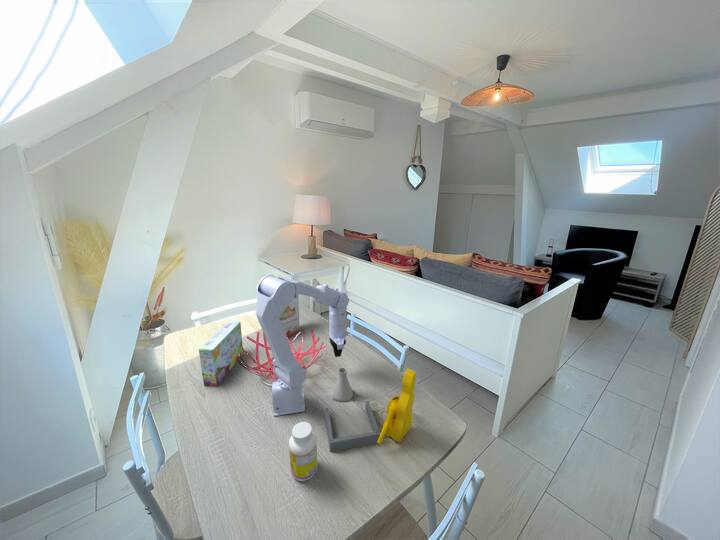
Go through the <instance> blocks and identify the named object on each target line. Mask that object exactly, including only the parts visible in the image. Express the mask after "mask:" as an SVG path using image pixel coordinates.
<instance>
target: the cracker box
mask: <svg viewBox="0 0 720 540" xmlns="http://www.w3.org/2000/svg"><path fill="white" fill-rule="evenodd" d="M299 298H300V297H299V295H298V296H297V298H293V300H292V301H291V302H290V304H289V305H288V306H287V307H286V308H285V310H284V311H283V312H282V313H281V314H280V315H278V316H279V319H280V322H281V324H282V327H283V329H284V332H285V333H286V335H287V338H288V337H290V336H292V335H294V334H296V333H298V332H300V306H299V301H300V299H299Z"/></svg>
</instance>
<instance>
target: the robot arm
mask: <svg viewBox="0 0 720 540" xmlns="http://www.w3.org/2000/svg"><path fill="white" fill-rule="evenodd" d="M255 291H256V295H257V300H256V309H255V311H256V312H255V314H256V318H257V320H258V322H259V325H260V327H261V330H262V331H263V334H264V338H265V340H266V342H267V344H268V346H269V349H270V350H271V354H272V356H273V358H274V359H273V360H272V365H273V369H272V371H273V374H274V375H275V376H277V380H276V381H274V382H272V386H271V387H272V388H271V393H272V395H271V397H272V399H271V400H272V406H273V407H272V408H273V410H272V411H273V416H274V417H277V416H283V415H289V414H295V413H302V412H305V411H306V409H305V394H304V392H303V384H304V382H305V380H306V378H307V371H306V369H305V368H303V367H302V365H301V363H300V362H299V361H298V359H297V358H296V357H295V356H294V354H293V350H292V349H291V346H290V342H289V340H288V337H286V335H285V332H284V329H283V327H282V324H281V322H280V319H279V316H278V315H280V314H281V313H282V312H283V311H284V310H285V308H286V307H287V306H288V305H289V304H290V302H291V301H292V300H293V298H297V296H298V297H299V295H303V296H307V297H312V300H313V301H314V302H315V303H318V304H322V305H326V306H328V310H329V313H328V315H329V317H328V318H329V319H328V321H329V322H328V323H329V329H328V330H329V333H328V336H329V337H328V338H329V343H330V345H331V346H332V351H333V355H334V357H335V358H340V357H341V356H342V353H343V350H344V349H345V348H344V347H345V345H346V344H347V340H346V337H348V336H349V335H350V334H349V331H346V313H347V311H348V305H349V303H350V298H349V295H347V293H346V292H343V291H340V290H338V289H337V288H335V287H333V288H331V287H329V285H327V284H324V283H323V284H319V285H317V286H312V285H310V284H307V283H304V282H301V281H298V280H296V279H292V278H287V277H284V276H277V277H276V276H275V275H273V274H268V275H265V276H263V277H262V278H261V279H260V281H259V282H258V284H257V286H256V288H255Z"/></svg>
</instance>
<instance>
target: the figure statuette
mask: <svg viewBox="0 0 720 540" xmlns="http://www.w3.org/2000/svg"><path fill="white" fill-rule="evenodd" d="M416 380H417V371H414V370H413V369H410V368H406V370H405V371H404V373H403V377H402V381H401V393H400V394H398V395H396V396H393V397H392V398H391V399H390V401H389V402H387V406H386V411H385V412H386V415H385V416H386V417H385V420H384V421H383V426H382V429H381V432H380V436H379V439H378V441H377V444H379V445H382V444H383V442H384V439H385V437H386V436H387V438H388V437H389V438H391V439H392V440H394V441H396V442H398V443H399V444H400V443H402V441H403V439H404V438H405V436H406V435H407V434H408V432H409V431H410V429H411V427H412V425H413V404H414V401H415V394H414V392H415V386H416Z"/></svg>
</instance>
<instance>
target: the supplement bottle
mask: <svg viewBox="0 0 720 540" xmlns="http://www.w3.org/2000/svg"><path fill="white" fill-rule="evenodd" d="M317 442H318V441H317V435H316V434H315V432H314V431H313V427H312V425H311V424H310V423H309V422H305V421H300V422H298V423H296V424H295V425H294V426H293V428H292V429H291V436H290V438H289V441H288V450H289V451H288V452H289V462H290V463H289V464H290V473H291V475H292V477H293V478H294V479H295V480H296V481H298V482H305V481H308V480H310V479H312V477H314V475H316V472H317V471H318V446H317V444H318V443H317Z"/></svg>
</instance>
